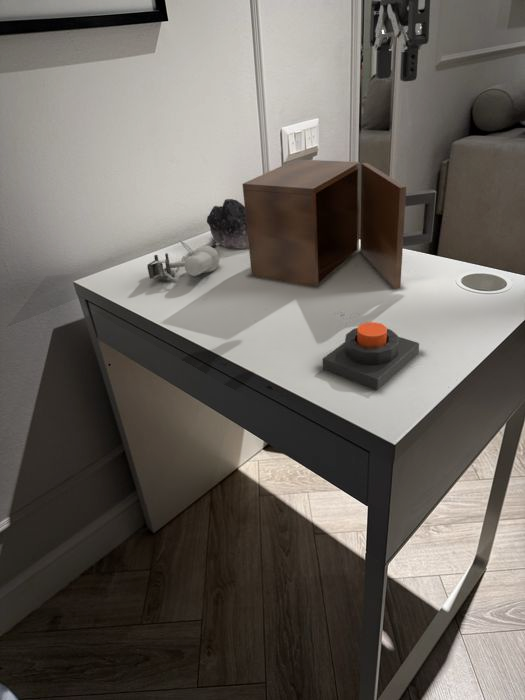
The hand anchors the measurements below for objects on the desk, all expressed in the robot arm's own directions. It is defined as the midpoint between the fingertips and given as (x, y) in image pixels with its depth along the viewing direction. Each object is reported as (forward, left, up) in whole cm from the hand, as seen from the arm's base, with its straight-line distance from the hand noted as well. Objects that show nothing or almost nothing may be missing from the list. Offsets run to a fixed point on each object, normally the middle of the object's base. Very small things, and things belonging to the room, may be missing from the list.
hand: (395, 79), depth 78 cm
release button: (+10, +31, -26) cm, 42 cm away
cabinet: (+14, -4, -30) cm, 33 cm away
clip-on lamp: (+36, -7, -30) cm, 48 cm away
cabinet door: (-1, +1, -30) cm, 30 cm away
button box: (+10, +31, -30) cm, 44 cm away
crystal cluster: (+26, -22, -30) cm, 46 cm away
